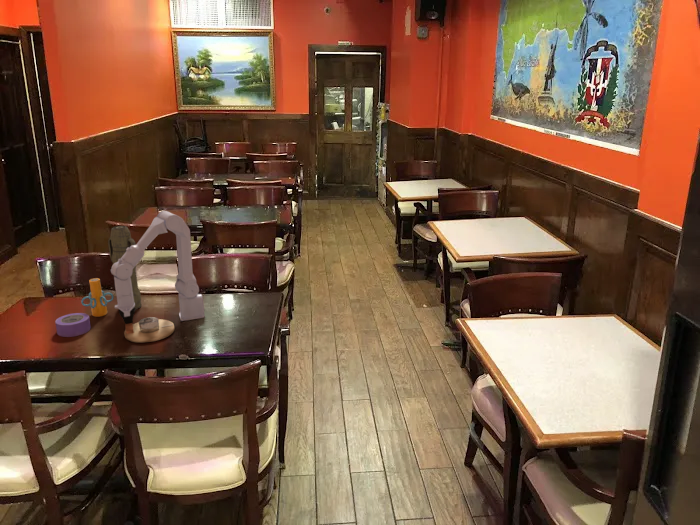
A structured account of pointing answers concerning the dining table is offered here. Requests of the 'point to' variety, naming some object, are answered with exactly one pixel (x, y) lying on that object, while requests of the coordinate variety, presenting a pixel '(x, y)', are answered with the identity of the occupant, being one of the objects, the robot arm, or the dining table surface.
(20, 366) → the dining table surface
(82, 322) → the tape roll
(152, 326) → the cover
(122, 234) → the thermos
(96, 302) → the cylinder
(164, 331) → the disc
